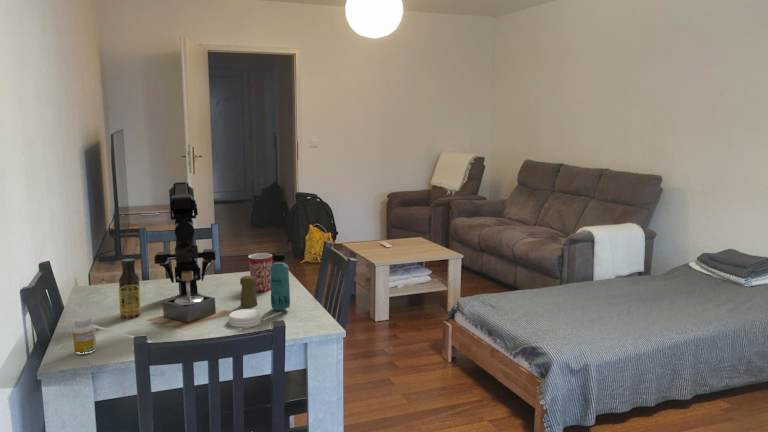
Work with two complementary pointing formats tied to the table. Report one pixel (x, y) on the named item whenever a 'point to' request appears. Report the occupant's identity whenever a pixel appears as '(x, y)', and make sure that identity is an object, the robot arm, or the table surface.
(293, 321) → the table surface
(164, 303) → the shallow square tray
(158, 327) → the table surface
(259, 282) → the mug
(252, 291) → the pepper shaker
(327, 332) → the table surface
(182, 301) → the plunger
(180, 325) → the tan square board
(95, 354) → the table surface
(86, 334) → the supplement bottle
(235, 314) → the white round container
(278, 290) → the beverage bottle
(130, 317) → the sauce bottle
